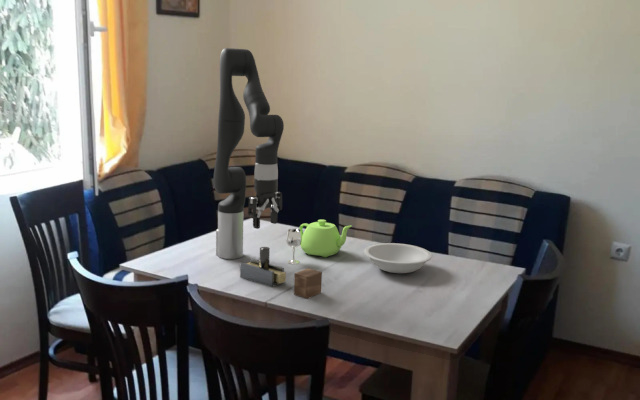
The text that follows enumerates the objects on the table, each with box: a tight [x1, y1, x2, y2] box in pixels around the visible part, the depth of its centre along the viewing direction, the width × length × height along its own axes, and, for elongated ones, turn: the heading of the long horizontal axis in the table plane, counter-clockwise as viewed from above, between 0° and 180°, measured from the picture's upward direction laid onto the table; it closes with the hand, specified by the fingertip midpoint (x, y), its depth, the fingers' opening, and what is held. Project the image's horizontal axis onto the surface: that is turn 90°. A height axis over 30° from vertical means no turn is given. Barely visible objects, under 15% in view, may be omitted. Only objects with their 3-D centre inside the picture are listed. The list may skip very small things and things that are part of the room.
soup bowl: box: [364, 242, 433, 274], centre depth 228 cm, size 24×24×7 cm
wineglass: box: [285, 228, 302, 265], centre depth 232 cm, size 6×6×12 cm
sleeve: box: [239, 258, 285, 288], centre depth 213 cm, size 14×6×5 cm, turn 54°
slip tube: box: [245, 246, 287, 285], centre depth 212 cm, size 16×3×10 cm, turn 54°
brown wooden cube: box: [293, 267, 323, 300], centre depth 202 cm, size 6×7×7 cm
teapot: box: [298, 219, 352, 258], centre depth 244 cm, size 22×15×13 cm
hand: (265, 225), depth 209 cm, fingers open, 8 cm apart
